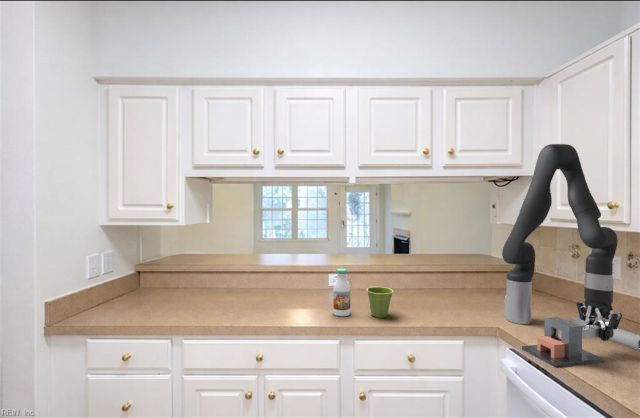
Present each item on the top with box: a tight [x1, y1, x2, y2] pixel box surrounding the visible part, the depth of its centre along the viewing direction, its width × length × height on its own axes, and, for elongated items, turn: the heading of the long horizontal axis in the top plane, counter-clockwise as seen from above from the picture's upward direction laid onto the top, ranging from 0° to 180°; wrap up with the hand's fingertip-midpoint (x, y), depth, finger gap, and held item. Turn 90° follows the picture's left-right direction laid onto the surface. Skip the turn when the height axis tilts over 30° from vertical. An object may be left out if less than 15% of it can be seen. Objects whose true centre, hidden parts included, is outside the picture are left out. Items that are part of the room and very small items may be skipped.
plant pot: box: [366, 286, 394, 318], centre depth 151 cm, size 12×12×11 cm
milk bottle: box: [332, 268, 351, 317], centre depth 152 cm, size 8×8×20 cm
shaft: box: [556, 321, 614, 340], centre depth 113 cm, size 6×18×6 cm, turn 102°
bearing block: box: [521, 316, 605, 368], centre depth 111 cm, size 13×18×11 cm
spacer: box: [536, 336, 565, 358], centre depth 111 cm, size 6×4×4 cm, turn 12°
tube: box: [570, 315, 640, 352], centre depth 127 cm, size 5×5×25 cm
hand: (597, 337), depth 114 cm, fingers open, 4 cm apart
